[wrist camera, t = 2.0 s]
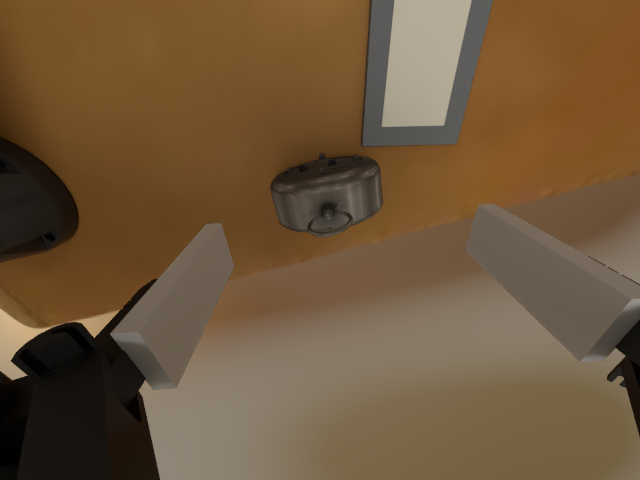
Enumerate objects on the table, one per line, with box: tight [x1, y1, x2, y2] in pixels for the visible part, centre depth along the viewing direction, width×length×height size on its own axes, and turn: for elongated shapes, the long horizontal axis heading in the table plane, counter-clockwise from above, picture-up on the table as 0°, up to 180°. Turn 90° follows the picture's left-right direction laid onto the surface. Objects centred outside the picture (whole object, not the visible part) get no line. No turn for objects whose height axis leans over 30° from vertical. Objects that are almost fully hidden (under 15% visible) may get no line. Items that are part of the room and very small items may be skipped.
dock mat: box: [361, 0, 493, 146], centre depth 22 cm, size 11×18×3 cm, turn 1°
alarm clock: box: [270, 153, 383, 237], centre depth 23 cm, size 11×5×16 cm, turn 101°
